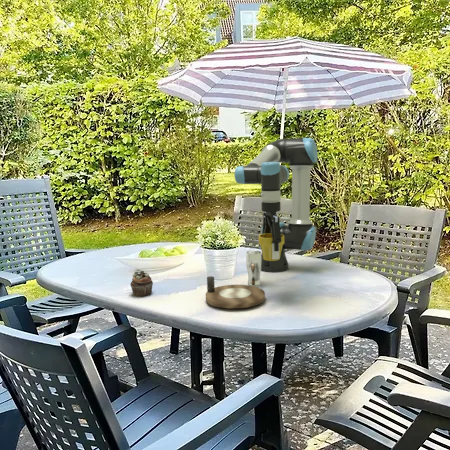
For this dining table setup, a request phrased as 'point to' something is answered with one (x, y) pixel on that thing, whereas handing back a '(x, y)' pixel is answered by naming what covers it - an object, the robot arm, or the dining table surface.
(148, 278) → the cupcake
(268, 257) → the plant pot
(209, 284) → the turntable
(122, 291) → the dining table surface
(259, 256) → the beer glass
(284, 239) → the robot arm
